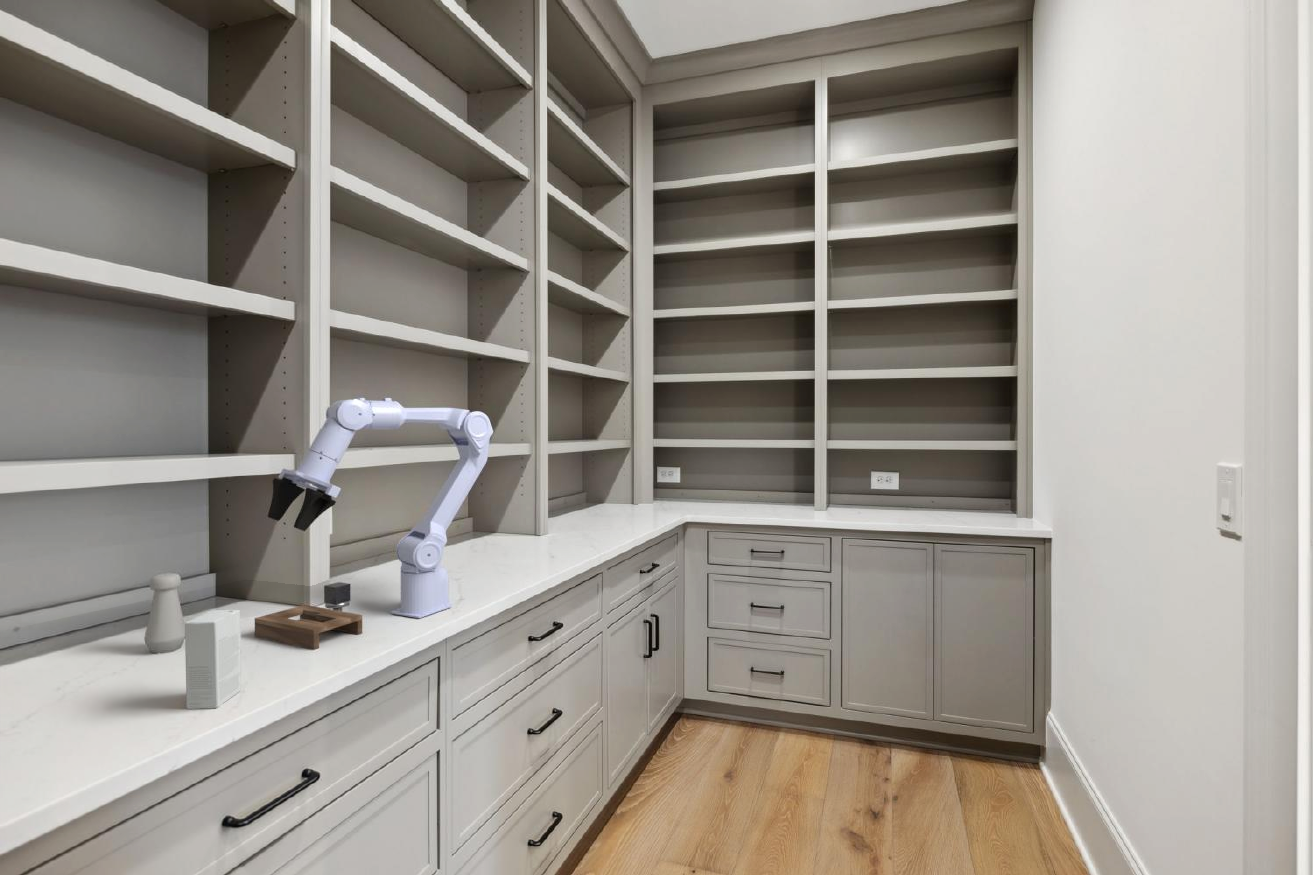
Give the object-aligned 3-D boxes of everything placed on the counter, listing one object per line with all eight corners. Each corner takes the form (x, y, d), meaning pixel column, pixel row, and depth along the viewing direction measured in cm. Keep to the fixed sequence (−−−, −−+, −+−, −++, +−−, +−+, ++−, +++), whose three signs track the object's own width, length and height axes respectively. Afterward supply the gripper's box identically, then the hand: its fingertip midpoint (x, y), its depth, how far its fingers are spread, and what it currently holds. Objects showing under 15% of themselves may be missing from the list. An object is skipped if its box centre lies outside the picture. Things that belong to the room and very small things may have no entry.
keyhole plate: (304, 621, 127) (304, 604, 127) (362, 633, 121) (362, 614, 121) (254, 636, 118) (254, 618, 118) (313, 649, 112) (313, 630, 112)
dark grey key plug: (339, 613, 134) (339, 581, 134) (354, 615, 132) (354, 583, 132) (320, 618, 130) (320, 585, 130) (335, 621, 128) (335, 588, 128)
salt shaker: (163, 656, 108) (162, 579, 108) (135, 654, 109) (134, 577, 109) (194, 645, 114) (194, 571, 114) (167, 642, 115) (167, 570, 115)
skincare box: (211, 691, 94) (211, 609, 94) (242, 690, 94) (241, 609, 94) (184, 709, 88) (183, 622, 88) (216, 709, 88) (216, 621, 88)
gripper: (282, 440, 121) (243, 507, 117) (332, 456, 115) (293, 527, 111) (311, 456, 127) (275, 519, 123) (361, 471, 121) (324, 539, 117)
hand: (285, 524), depth 117 cm, fingers open, 7 cm apart
